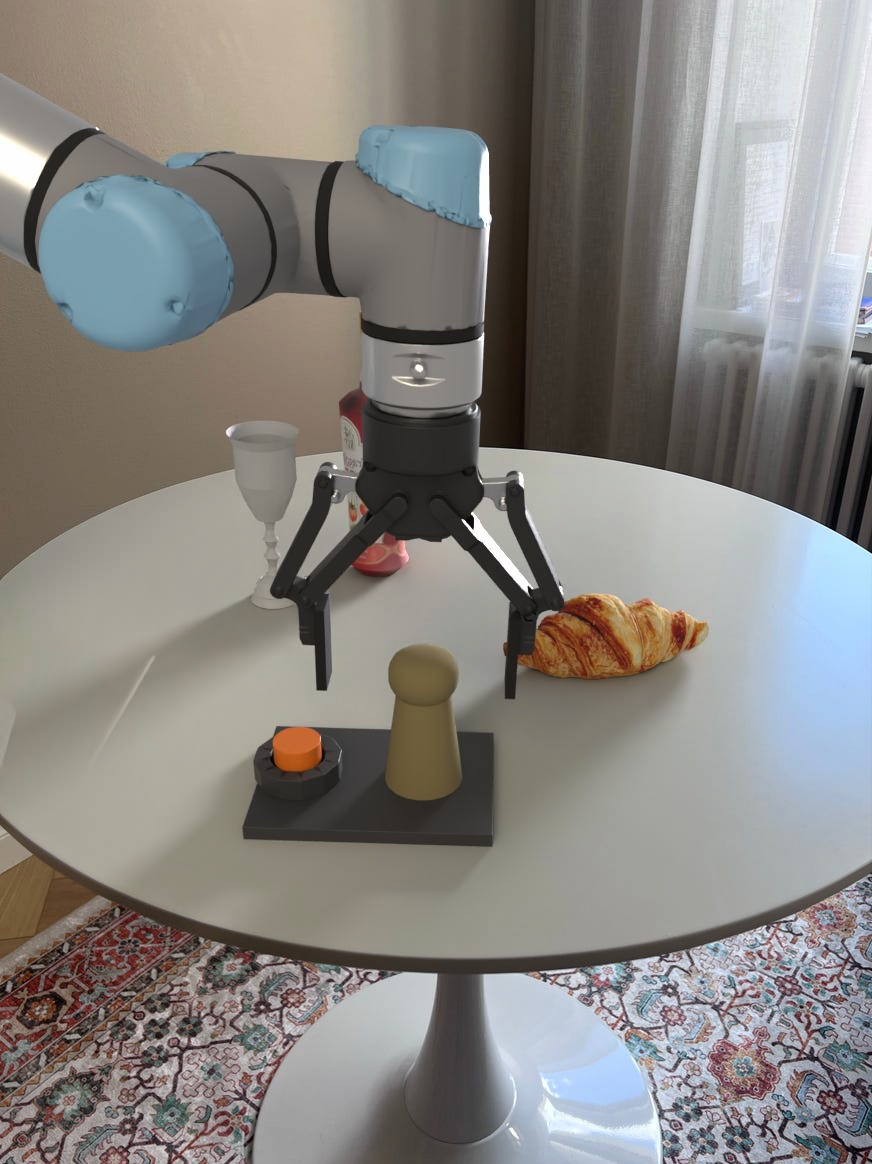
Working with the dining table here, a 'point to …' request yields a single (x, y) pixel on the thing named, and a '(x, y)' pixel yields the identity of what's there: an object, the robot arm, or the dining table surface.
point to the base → (369, 796)
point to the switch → (297, 749)
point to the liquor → (386, 549)
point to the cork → (423, 724)
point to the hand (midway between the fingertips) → (417, 685)
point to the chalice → (265, 487)
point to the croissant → (610, 638)
